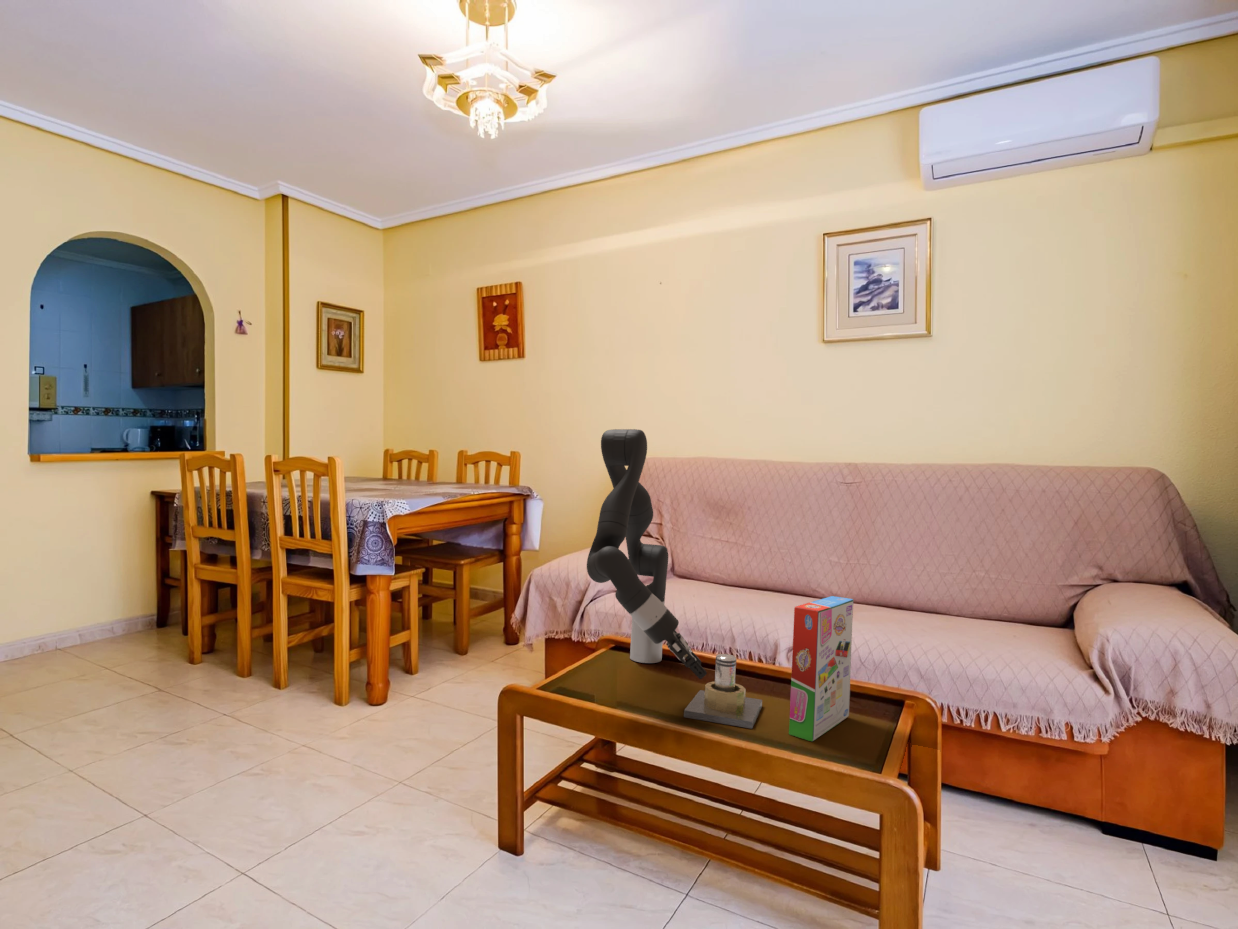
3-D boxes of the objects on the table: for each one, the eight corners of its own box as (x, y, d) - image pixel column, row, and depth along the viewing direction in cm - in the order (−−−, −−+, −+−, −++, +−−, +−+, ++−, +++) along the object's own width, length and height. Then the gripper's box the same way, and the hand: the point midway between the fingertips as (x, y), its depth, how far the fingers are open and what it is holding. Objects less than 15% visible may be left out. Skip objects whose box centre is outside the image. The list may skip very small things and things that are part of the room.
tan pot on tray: (699, 696, 163) (700, 673, 163) (761, 706, 158) (763, 682, 158) (683, 717, 147) (685, 692, 148) (752, 729, 142) (753, 703, 143)
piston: (715, 700, 155) (717, 652, 156) (735, 703, 154) (738, 655, 154) (711, 706, 151) (714, 657, 151) (732, 709, 149) (734, 660, 150)
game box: (826, 711, 156) (831, 595, 157) (849, 718, 153) (855, 599, 153) (787, 735, 140) (793, 605, 141) (812, 742, 137) (818, 609, 137)
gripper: (668, 613, 146) (718, 668, 146) (663, 601, 160) (708, 651, 160) (643, 636, 146) (692, 691, 145) (640, 622, 160) (685, 672, 160)
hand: (701, 670), depth 153 cm, fingers open, 8 cm apart
